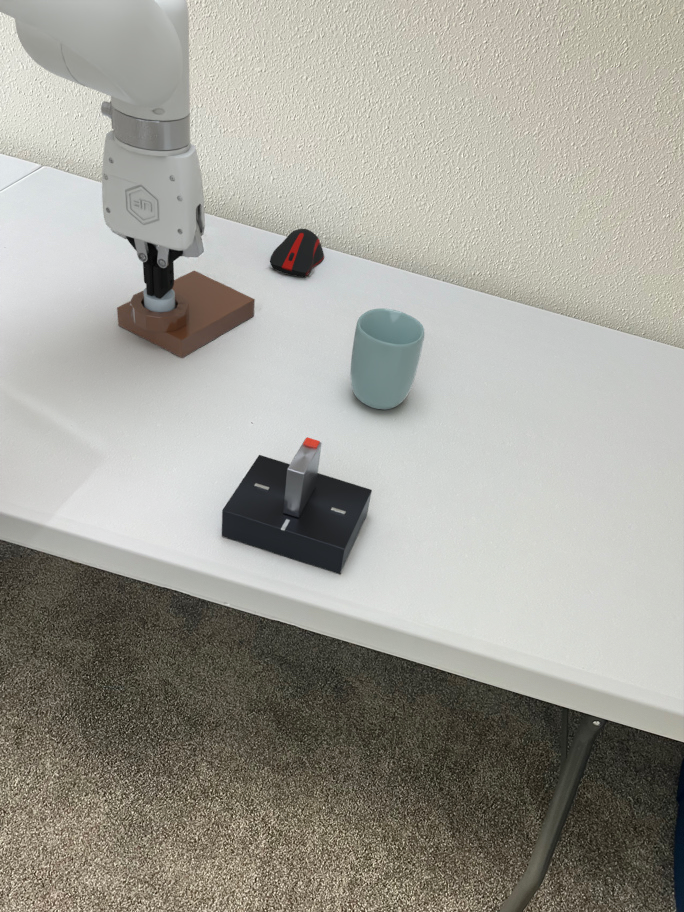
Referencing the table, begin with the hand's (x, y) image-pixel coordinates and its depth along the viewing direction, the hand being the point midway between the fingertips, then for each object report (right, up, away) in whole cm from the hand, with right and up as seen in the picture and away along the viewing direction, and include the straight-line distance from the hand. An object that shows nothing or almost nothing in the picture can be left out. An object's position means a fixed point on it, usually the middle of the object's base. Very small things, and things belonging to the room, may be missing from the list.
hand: (159, 291), depth 92 cm
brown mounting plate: (+1, -1, +7) cm, 8 cm away
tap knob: (+19, -25, -17) cm, 36 cm away
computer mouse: (+13, +12, +24) cm, 30 cm away
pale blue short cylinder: (0, -1, +1) cm, 2 cm away
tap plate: (+18, -28, -15) cm, 36 cm away
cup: (+26, -12, +3) cm, 29 cm away
